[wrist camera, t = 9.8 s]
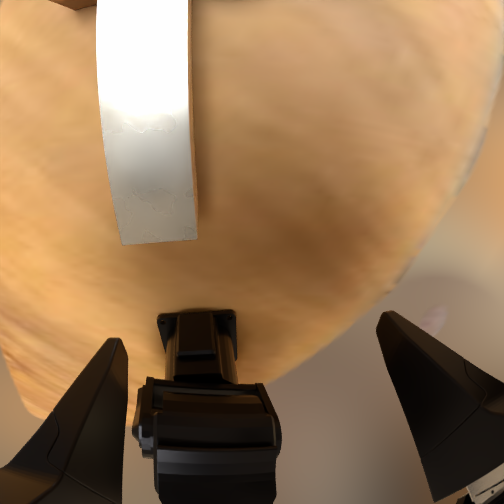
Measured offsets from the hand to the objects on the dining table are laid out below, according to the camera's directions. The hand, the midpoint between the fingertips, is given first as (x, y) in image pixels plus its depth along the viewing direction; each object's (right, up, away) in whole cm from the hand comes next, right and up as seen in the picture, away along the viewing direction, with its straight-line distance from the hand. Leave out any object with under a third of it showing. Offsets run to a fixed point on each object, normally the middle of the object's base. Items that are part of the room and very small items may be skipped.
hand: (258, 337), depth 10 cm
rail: (-6, +13, +5) cm, 15 cm away
